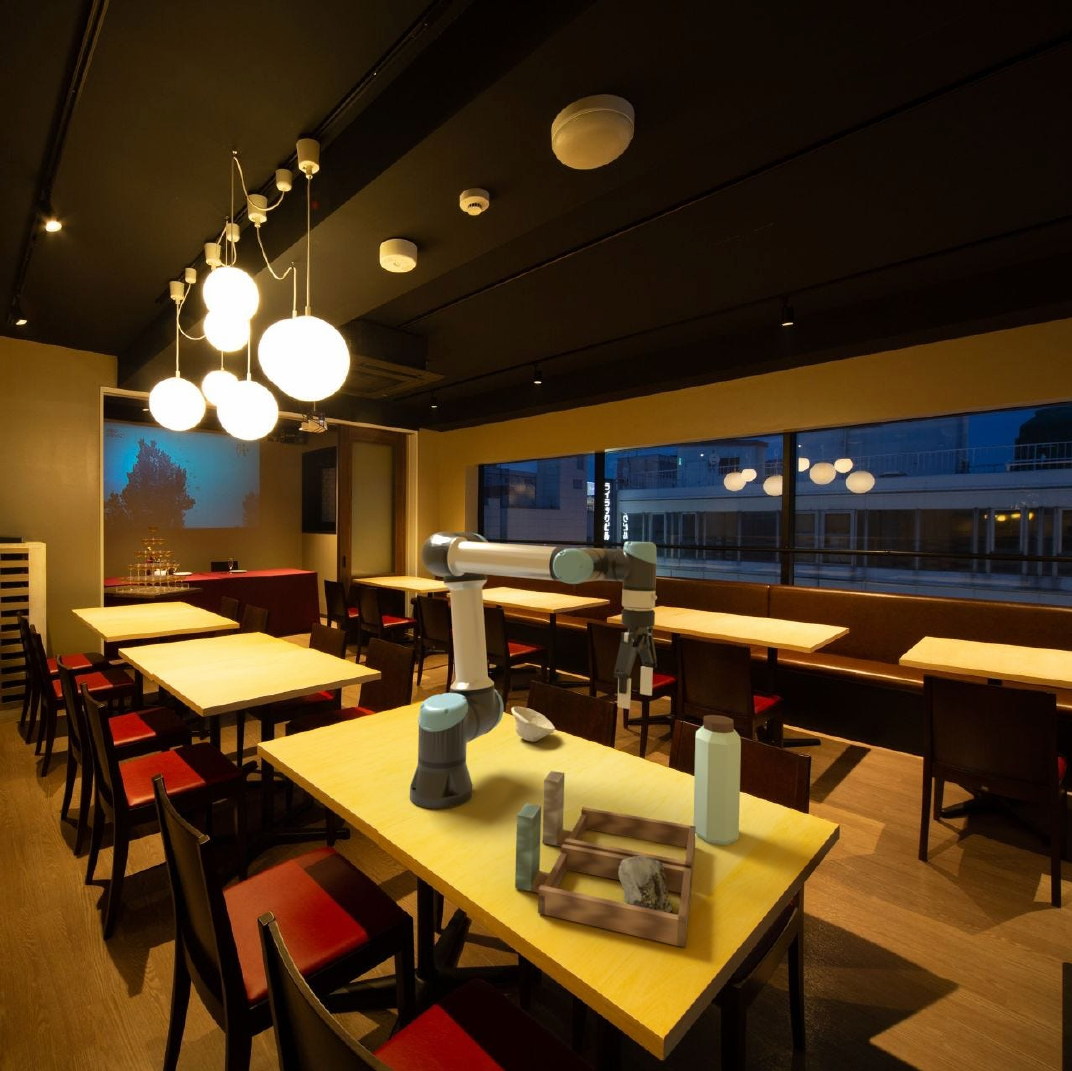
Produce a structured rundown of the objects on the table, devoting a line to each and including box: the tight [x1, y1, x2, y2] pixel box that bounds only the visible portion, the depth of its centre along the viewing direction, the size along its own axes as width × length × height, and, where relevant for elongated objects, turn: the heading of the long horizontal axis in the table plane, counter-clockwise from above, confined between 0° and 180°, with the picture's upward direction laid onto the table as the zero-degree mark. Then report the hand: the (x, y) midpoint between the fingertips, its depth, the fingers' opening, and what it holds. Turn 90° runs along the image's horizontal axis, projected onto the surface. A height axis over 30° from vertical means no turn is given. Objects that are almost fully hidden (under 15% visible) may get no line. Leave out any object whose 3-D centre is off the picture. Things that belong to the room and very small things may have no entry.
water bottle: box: [692, 714, 742, 846], centre depth 125 cm, size 10×10×25 cm
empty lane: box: [542, 770, 696, 884], centre depth 117 cm, size 30×15×13 cm, turn 72°
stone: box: [618, 856, 674, 914], centre depth 99 cm, size 10×10×10 cm
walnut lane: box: [514, 803, 692, 948], centre depth 102 cm, size 30×15×13 cm, turn 72°
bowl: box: [511, 705, 556, 742], centre depth 182 cm, size 15×14×10 cm
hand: (635, 700), depth 133 cm, fingers open, 13 cm apart
